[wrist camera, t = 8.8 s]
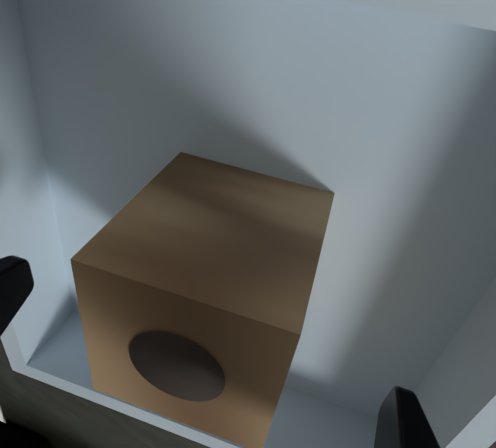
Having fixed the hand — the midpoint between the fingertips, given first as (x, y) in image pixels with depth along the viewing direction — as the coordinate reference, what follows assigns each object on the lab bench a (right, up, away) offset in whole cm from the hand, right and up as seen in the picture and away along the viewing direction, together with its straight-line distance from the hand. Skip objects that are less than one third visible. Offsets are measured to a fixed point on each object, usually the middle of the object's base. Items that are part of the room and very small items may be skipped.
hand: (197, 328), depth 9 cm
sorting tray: (+1, +3, +4) cm, 5 cm away
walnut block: (+1, +2, +3) cm, 4 cm away
